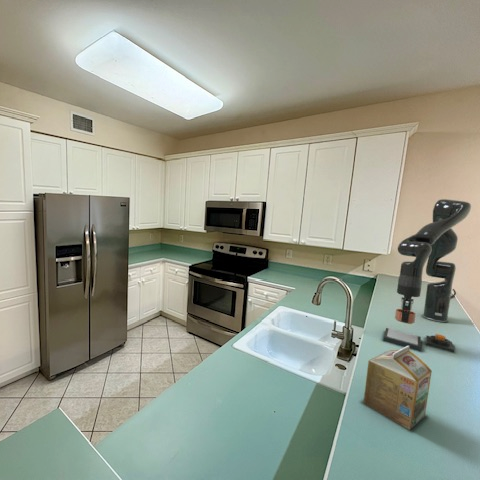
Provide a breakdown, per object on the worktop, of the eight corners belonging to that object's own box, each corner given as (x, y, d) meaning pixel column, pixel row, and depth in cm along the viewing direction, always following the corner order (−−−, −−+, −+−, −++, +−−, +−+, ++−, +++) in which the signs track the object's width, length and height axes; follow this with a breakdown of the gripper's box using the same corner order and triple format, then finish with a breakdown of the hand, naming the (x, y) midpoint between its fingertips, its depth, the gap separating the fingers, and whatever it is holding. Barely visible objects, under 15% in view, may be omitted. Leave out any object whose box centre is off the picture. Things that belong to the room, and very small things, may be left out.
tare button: (434, 337, 115) (435, 333, 114) (444, 339, 112) (445, 335, 112) (435, 339, 113) (435, 335, 112) (445, 341, 110) (445, 338, 110)
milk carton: (409, 430, 67) (419, 364, 65) (363, 403, 76) (370, 344, 74) (424, 416, 72) (434, 354, 70) (379, 392, 81) (386, 337, 79)
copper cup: (395, 317, 119) (396, 307, 119) (414, 321, 115) (415, 311, 114) (394, 320, 115) (395, 311, 114) (414, 325, 110) (415, 315, 110)
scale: (385, 331, 125) (386, 326, 125) (420, 340, 116) (420, 335, 116) (383, 341, 115) (383, 335, 115) (420, 351, 107) (421, 346, 106)
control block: (426, 338, 119) (426, 332, 119) (451, 344, 113) (452, 338, 113) (426, 345, 112) (427, 339, 112) (453, 352, 106) (454, 346, 106)
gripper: (421, 289, 105) (416, 327, 107) (421, 283, 115) (416, 318, 117) (397, 285, 111) (392, 321, 112) (398, 280, 121) (394, 313, 122)
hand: (404, 319), depth 115 cm, fingers closed on copper cup, 6 cm apart
